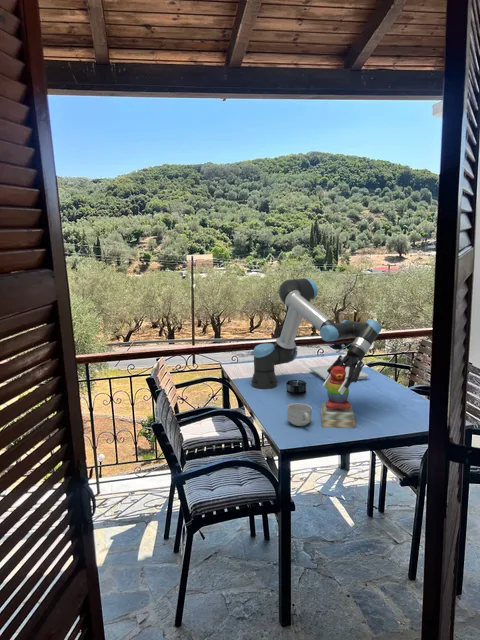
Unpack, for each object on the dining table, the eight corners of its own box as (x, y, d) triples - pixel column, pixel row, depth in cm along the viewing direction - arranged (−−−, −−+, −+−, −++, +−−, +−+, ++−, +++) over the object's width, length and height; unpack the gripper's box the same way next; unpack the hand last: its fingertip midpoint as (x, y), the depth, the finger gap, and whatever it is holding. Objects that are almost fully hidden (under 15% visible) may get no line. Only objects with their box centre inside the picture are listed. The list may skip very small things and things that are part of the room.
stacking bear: (325, 408, 187) (326, 369, 184) (325, 400, 197) (325, 363, 194) (351, 409, 185) (351, 370, 182) (349, 401, 195) (349, 363, 192)
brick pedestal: (322, 426, 186) (322, 413, 185) (320, 414, 200) (320, 402, 199) (354, 427, 184) (355, 414, 183) (351, 415, 198) (351, 403, 197)
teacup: (285, 419, 195) (285, 402, 194) (308, 418, 196) (308, 401, 195) (291, 432, 182) (291, 414, 180) (316, 430, 183) (316, 413, 181)
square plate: (369, 381, 250) (370, 374, 249) (326, 385, 244) (326, 379, 243) (347, 368, 276) (347, 363, 275) (308, 372, 270) (308, 366, 269)
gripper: (381, 359, 187) (354, 401, 181) (345, 350, 205) (319, 388, 199) (373, 349, 183) (346, 391, 177) (337, 340, 201) (311, 379, 195)
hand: (332, 390), depth 188 cm, fingers closed on stacking bear, 9 cm apart
